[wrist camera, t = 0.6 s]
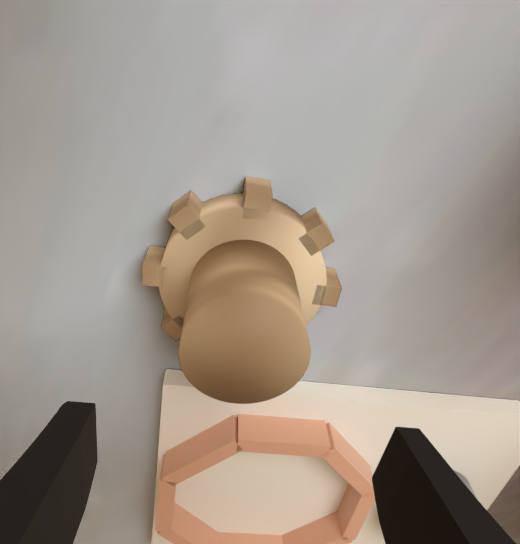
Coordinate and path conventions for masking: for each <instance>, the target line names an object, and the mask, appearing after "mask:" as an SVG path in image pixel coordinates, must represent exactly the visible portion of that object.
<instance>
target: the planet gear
mask: <svg viewBox="0 0 520 544" xmlns="http://www.w3.org/2000/svg"><path fill="white" fill-rule="evenodd" d="M272 195H273V194H272V189H271V184H270V180H265V179H258V178H251V177H246V178H245V184H244V191H243V193H233V194H227V195H222V196H218V197H215V198H212V199H209V200H207V201H205V202H203V203H202V202H201V201H200V199H199V198H198V197H197V196H196V195H195V194H194V192H193V191H192V190H191V191H189V192H188V193H187V194H185V195H184V196H183V197H181V198H180V199H179V200H177V201H176V202H175V203H173V205H172V208H171V211H170V214H169V217H168V221H169V222H170V223H171V224H172V225H173V226H174V227H175V228H174V229H173V231H172V233H171V235H170V237H169V239H168V242H167V245H166V248H164V247H156V246H149V249H148V251H147V254H146V257H145V259H144V262H143V267H142V285H146V286H155V287H159V290H160V296H161V298H162V301H163V304H164V306H165V312H164V316H163V320H162V324H161V328H162V329H163V330H164V331H165V332H166V333H167V334H169V335H170V336H171V337H172V338H173V339H174V340H175V341H177V340H178V339H180V338H181V340H180V346H179V363H180V367H181V370H182V372H183V374H184V375H185V377H186V378H187V380H188V381H189V382H190V383H191V384H192V385H193V386H194V387H195V388H196V389H197V390H199V391H200V392H202V393H203V394H205V395H207V396H209V397H211V398H214V399H216V400H219V401H223V402H228V403H235V404H251V403H258V402H263V401H267V400H270V399H273V398H275V397H278V396H280V395H282V394H283V393H285V392H287V391H288V390H290V389H291V388H292V387H293V386H295V385H296V384H297V383H298V382H299V381H300V379H301V378H302V377H303V375H304V373H305V372H306V370H307V367H308V365H309V361H310V353H311V350H310V343H309V338H308V334H307V329H306V325H307V324H308V323H309V322H310V321H311V320H312V319H313V317H314V316H315V314H316V313H317V311H318V309H319V308H320V306H321V305H324V306H333V307H336V306H337V303H338V300H339V296H340V293H341V290H342V286H341V284H340V281H339V279H338V276H337V273H336V271H335V269H334V268H326V267H325V263H324V260H323V257H322V254H321V251H320V250H322V249H323V248H325V247H327V246H328V245H330V244H331V243H333V242H334V239H333V237H332V235H331V232H330V230H329V228H328V225H327V224H326V222H325V221H324V219H323V218H322V216H321V215H320V214H319V212H318V211H317V209H316V208H313V209H312V210H310V211H309V212H307V213H306V214H304V215H303V216H300V215H299V214H298V213H297V212H296V211H295V210H294V209H292V208H291V207H289V206H288V205H286V204H284V203H282V202H280V201H278V200H276V199H273V198H272Z"/></svg>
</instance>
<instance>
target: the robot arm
mask: <svg viewBox="0 0 520 544" xmlns="http://www.w3.org/2000/svg"><path fill="white" fill-rule="evenodd" d="M96 465H97V437H96V408H95V403H83V402H70V401H67V402H66V403H64V404H63V405H62V406H61V407H60V409H59V410H58V411H57V413H56V414H55V415H54V417H53V418H52V419H51V421H50V422H49V423H48V425H47V426H46V427H45V428H44V430H43V431H42V432H41V433H40V435H39V436H38V437H37V438H36V440H35V441H34V442H33V443H32V444H31V446H30V447H29V448H28V449H27V450H26V452H25V453H24V454H23V455H22V456H21V458H20V459H19V460H18V461H17V462H16V463H15V464H14V466H13V467H12V468H11V469H10V470H9V471H8V472H7V473H6V475H5V476H4V477H3V478H2V479H1V480H0V544H73V541H74V539H75V536H76V533H77V530H78V528H79V525H80V522H81V519H82V516H83V514H84V511H85V508H86V504H87V500H88V496H89V493H90V489H91V485H92V481H93V477H94V473H95V469H96ZM372 483H373V489H374V496H375V502H376V507H377V512H378V518H379V523H380V526H381V530H382V533H383V537H384V540H385V544H516V543H515V542H514V541H513V540H512V539H511V538H510V537H509V536H508V534H507V533H506V532H505V531H504V530H503V529H502V528H501V526H500V525H499V524H498V523H497V522H496V521H495V520H494V518H493V517H492V516H491V515H490V514H489V513H488V511H487V510H486V509H485V508H484V507H483V506H482V504H481V503H480V502H479V501H478V500H477V499H476V497H475V496H474V495H473V494H472V493H471V491H470V490H469V489H468V488H467V486H466V485H465V484H464V483H463V482H462V480H461V479H460V478H459V477H458V475H457V474H456V473H455V472H454V471H453V469H452V468H451V467H450V466H449V464H448V463H447V462H446V461H445V459H444V458H443V457H442V456H441V455H440V453H439V452H438V451H437V450H436V448H435V447H434V446H433V445H432V443H431V442H430V441H429V440H428V439H427V437H426V436H425V435H424V434H423V433H422V431H421V430H420V429H419V428H407V427H395V429H394V432H393V434H392V436H391V438H390V440H389V442H388V444H387V446H386V449H385V451H384V453H383V455H382V457H381V459H380V461H379V464H378V466H377V468H376V470H375V472H374V474H373V476H372Z"/></svg>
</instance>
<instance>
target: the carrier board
mask: <svg viewBox="0 0 520 544" xmlns="http://www.w3.org/2000/svg"><path fill="white" fill-rule="evenodd" d="M395 427H407V428H419V429H420V430H421V431H422V433H423V434H424V435H425V436H426V437H427V439H428V440H429V441H430V442H431V443H432V445H433V446H434V447H435V448H436V450H437V451H438V452H439V453H440V455H441V456H442V457H443V458H444V459H445V461H446V462H447V463H448V464H449V466H450V467H451V468H452V469H453V471H454V472H455V473H456V474H457V475H458V477H459V478H460V479H461V480H462V482H463V483H464V484H465V485H466V486H467V488H468V489H469V490H470V491H471V493H472V494H473V495H474V496H475V497H476V499H477V500H478V501H479V502H480V503H481V504H482V506H483V507H484V508H485V509H486V510H488V508H489V507H490V506H491V504H492V503H493V501H494V500H495V499H496V497H497V496H498V494H499V493H500V492H501V490H502V489H503V488H504V486H505V485H506V483H507V482H508V481H509V479H510V478H511V477H512V475H513V474H514V472H515V471H516V470H517V468H518V467H519V466H520V401H517V400H506V399H495V398H484V397H473V396H462V395H451V394H440V393H428V392H417V391H406V390H395V389H384V388H373V387H362V386H351V385H339V384H328V383H317V382H306V381H299V382H298V383H297V384H296V385H295V386H293V387H292V388H291V389H290V390H288V391H287V392H285V393H283V394H282V395H280V396H278V397H275V398H273V399H270V400H267V401H263V402H258V403H251V404H235V403H228V402H223V401H219V400H216V399H214V398H211V397H209V396H207V395H205V394H203V393H202V392H200V391H199V390H197V389H196V388H195V387H194V386H193V385H192V384H191V383H190V382H189V381H188V380H187V378H186V377H185V375H184V374H183V372H182V370H173V369H166V372H165V377H164V382H163V391H162V405H161V418H160V432H159V446H158V460H157V474H156V488H155V501H154V515H153V529H152V543H151V544H385V540H384V537H383V533H382V530H381V526H380V523H379V518H378V512H377V507H376V502H375V496H374V489H373V483H372V476H373V474H374V472H375V470H376V468H377V466H378V464H379V461H380V459H381V457H382V455H383V453H384V451H385V449H386V446H387V444H388V442H389V440H390V438H391V436H392V434H393V432H394V429H395Z"/></svg>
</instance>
